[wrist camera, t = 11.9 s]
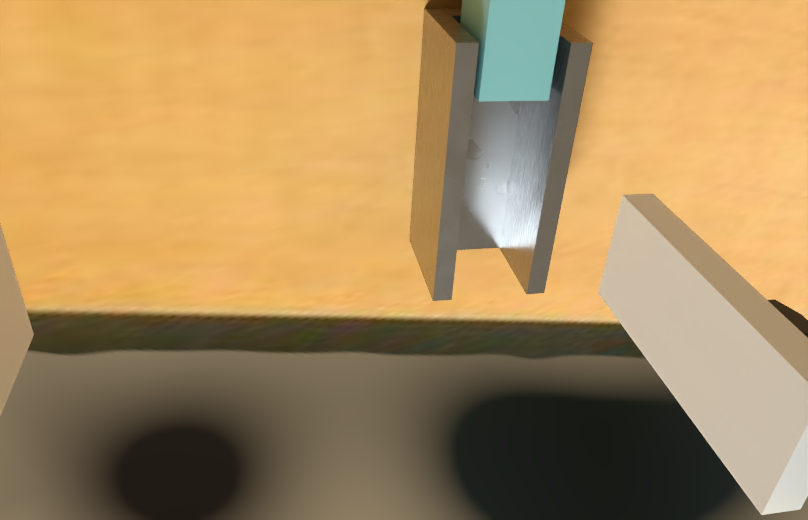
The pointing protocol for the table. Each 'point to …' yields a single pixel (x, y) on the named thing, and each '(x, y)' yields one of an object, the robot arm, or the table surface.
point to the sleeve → (489, 158)
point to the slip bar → (514, 47)
